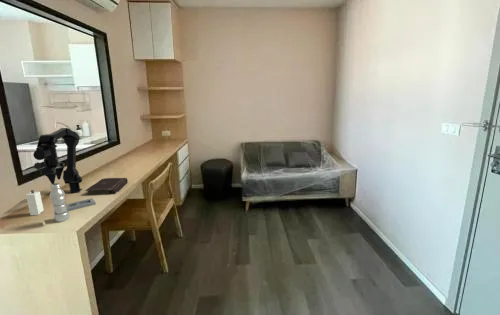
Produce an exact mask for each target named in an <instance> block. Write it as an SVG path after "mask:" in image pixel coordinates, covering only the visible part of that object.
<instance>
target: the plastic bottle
mask: <svg viewBox="0 0 500 315" xmlns="http://www.w3.org/2000/svg"><path fill="white" fill-rule="evenodd" d="M50 188H51V190H50V193H49V199H50V200H51V203H52V208H53V219H54V222H56V223H63V222H66V221H68V220H69V219H70V213H69V211H67V208H66V204H67V203H66V192H65V191H64V190H63V189H62V188H61V184H60V183H59V182H58V183H57V182H56V183H55V182H54V184H51V185H50Z"/></svg>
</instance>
